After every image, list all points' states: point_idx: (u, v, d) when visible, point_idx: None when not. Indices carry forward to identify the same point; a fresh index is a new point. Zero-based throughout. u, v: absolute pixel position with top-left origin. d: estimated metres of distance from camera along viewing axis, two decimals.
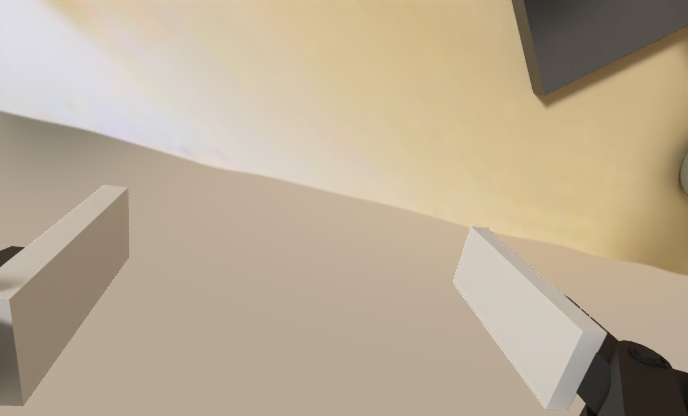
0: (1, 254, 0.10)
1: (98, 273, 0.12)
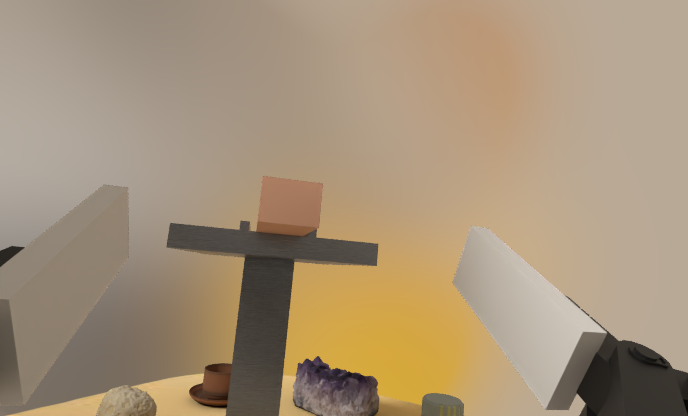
0: (1, 254, 0.10)
1: (98, 273, 0.12)
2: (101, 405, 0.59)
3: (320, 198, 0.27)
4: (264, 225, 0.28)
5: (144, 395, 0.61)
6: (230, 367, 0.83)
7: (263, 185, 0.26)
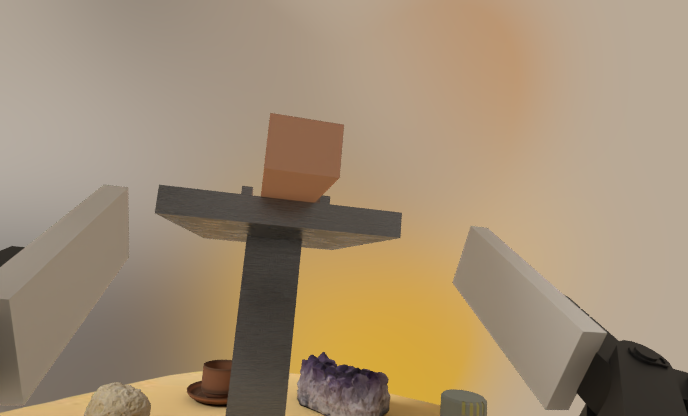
0: (1, 254, 0.10)
1: (98, 273, 0.12)
2: (90, 403, 0.54)
3: (341, 142, 0.22)
4: (271, 179, 0.23)
5: (137, 393, 0.56)
6: (231, 364, 0.78)
7: (271, 124, 0.21)
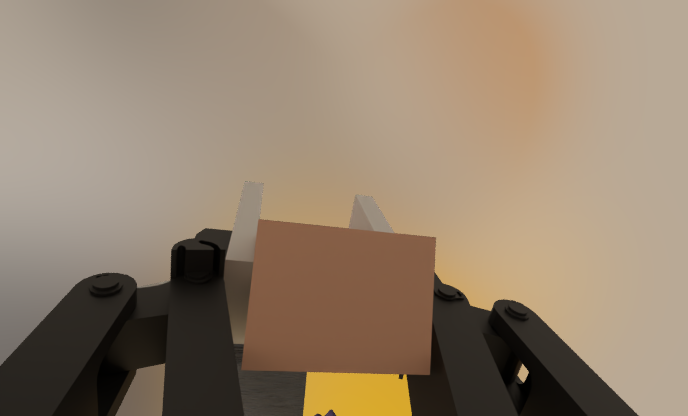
0: (203, 234, 0.13)
1: None
2: None
3: (430, 282, 0.09)
4: None
5: None
6: None
7: (260, 250, 0.08)
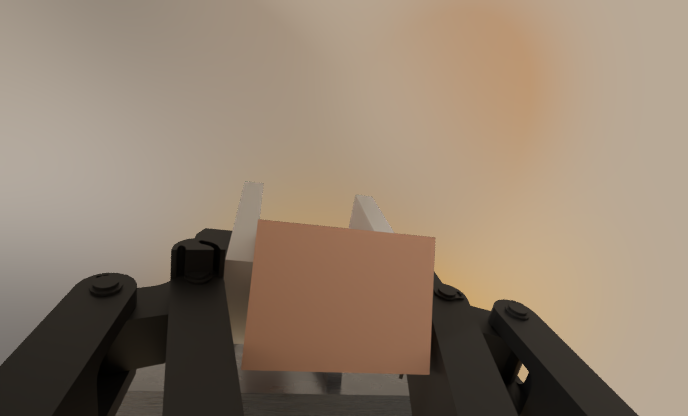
0: (204, 234, 0.13)
1: None
2: None
3: (430, 282, 0.09)
4: None
5: None
6: None
7: (259, 250, 0.08)
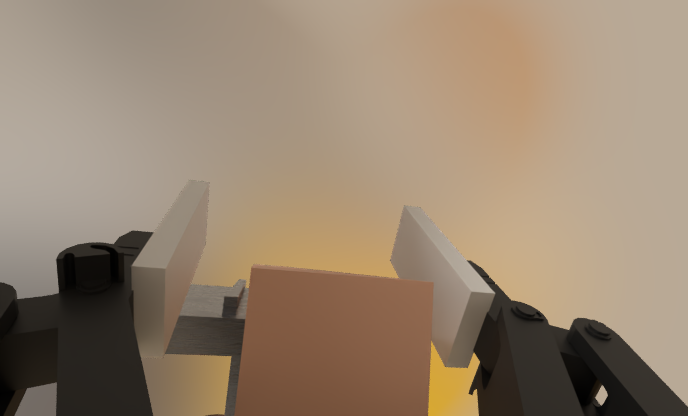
0: (128, 236, 0.12)
1: (194, 255, 0.14)
2: None
3: (428, 329, 0.09)
4: None
5: None
6: None
7: (253, 300, 0.08)
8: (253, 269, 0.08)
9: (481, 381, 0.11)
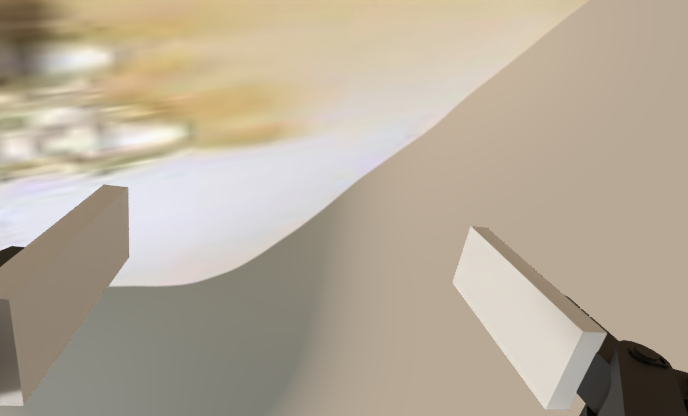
0: (1, 254, 0.10)
1: (98, 273, 0.12)
2: None
3: None
4: None
5: None
6: None
7: None
8: None
9: None
